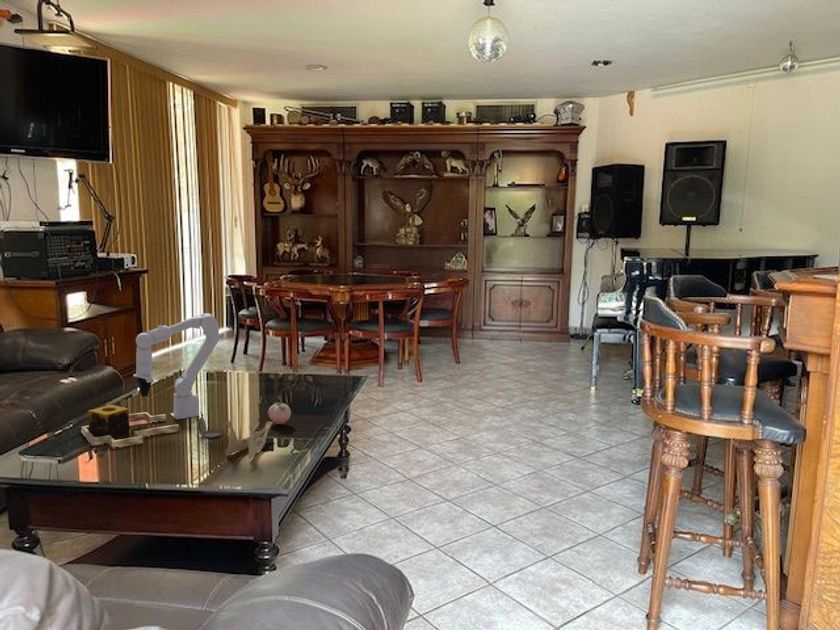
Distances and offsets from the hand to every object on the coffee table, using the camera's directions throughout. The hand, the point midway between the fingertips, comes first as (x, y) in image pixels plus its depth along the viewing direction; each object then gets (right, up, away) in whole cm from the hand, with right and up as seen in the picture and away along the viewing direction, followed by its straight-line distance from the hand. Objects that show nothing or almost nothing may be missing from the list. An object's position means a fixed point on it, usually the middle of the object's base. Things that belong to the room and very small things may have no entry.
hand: (144, 396), depth 244 cm
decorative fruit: (+54, -12, +2) cm, 56 cm away
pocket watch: (+31, -13, -15) cm, 37 cm away
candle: (-4, -12, -20) cm, 23 cm away
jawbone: (+51, -16, -24) cm, 59 cm away
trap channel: (+2, -12, -15) cm, 19 cm away
